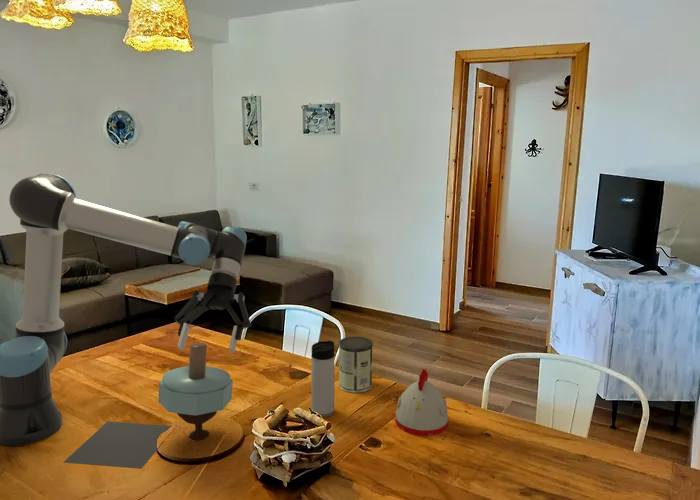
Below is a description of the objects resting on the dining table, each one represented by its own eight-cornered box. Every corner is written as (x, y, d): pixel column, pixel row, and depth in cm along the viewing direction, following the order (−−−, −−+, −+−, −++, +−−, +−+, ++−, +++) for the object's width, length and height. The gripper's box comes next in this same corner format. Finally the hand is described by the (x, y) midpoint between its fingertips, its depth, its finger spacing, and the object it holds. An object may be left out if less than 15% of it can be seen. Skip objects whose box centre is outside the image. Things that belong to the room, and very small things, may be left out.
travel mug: (339, 411, 154) (340, 343, 150) (322, 420, 149) (322, 350, 145) (323, 404, 158) (324, 337, 154) (306, 412, 154) (306, 344, 150)
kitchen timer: (389, 430, 145) (390, 376, 142) (402, 406, 158) (404, 357, 155) (442, 440, 140) (445, 385, 137) (451, 415, 153) (454, 364, 150)
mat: (63, 463, 128) (63, 462, 128) (107, 422, 147) (107, 421, 147) (141, 470, 126) (141, 468, 126) (176, 427, 145) (176, 426, 145)
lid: (149, 409, 131) (151, 351, 129) (177, 385, 147) (180, 333, 145) (215, 418, 129) (219, 359, 128) (237, 392, 145) (240, 340, 144)
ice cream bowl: (210, 450, 134) (208, 393, 131) (168, 445, 136) (164, 388, 134) (228, 428, 144) (226, 374, 142) (188, 423, 147) (186, 370, 144)
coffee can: (350, 375, 178) (350, 333, 175) (378, 383, 172) (379, 340, 169) (331, 387, 169) (332, 343, 166) (360, 396, 164) (361, 351, 161)
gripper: (270, 286, 155) (256, 358, 143) (185, 283, 158) (164, 352, 146) (264, 272, 149) (249, 346, 137) (176, 269, 152) (154, 341, 140)
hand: (205, 349), depth 142 cm, fingers open, 13 cm apart
